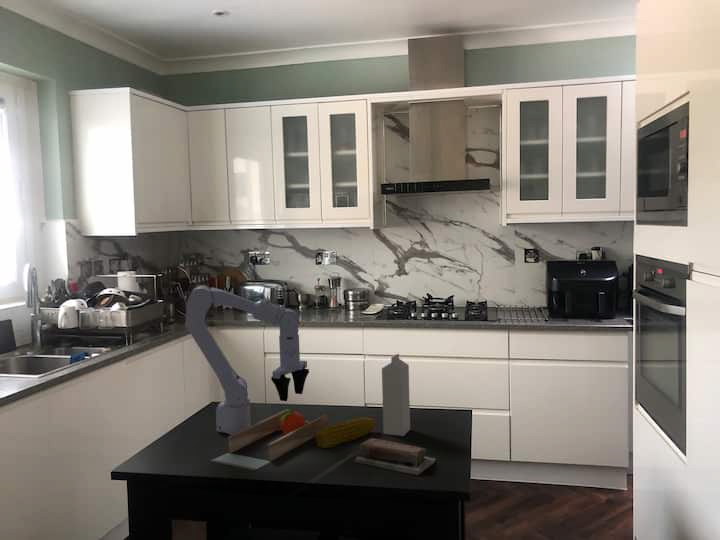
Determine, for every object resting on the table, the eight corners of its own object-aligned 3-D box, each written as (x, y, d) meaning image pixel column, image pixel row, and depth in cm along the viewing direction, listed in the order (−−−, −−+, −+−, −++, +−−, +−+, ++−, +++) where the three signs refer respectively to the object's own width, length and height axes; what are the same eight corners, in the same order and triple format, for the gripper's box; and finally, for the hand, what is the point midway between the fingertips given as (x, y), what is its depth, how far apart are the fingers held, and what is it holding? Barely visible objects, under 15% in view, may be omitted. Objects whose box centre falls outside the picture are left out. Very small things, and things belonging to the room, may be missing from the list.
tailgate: (227, 456, 168) (210, 463, 162) (227, 452, 168) (210, 460, 162) (271, 464, 161) (255, 473, 155) (271, 461, 161) (254, 469, 155)
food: (328, 454, 167) (327, 432, 167) (313, 449, 171) (312, 427, 171) (380, 432, 183) (380, 412, 182) (365, 428, 187) (365, 408, 186)
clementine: (284, 443, 176) (283, 418, 175) (273, 436, 182) (272, 412, 181) (310, 437, 180) (309, 412, 180) (299, 430, 186) (298, 406, 185)
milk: (410, 429, 184) (409, 353, 182) (403, 436, 179) (402, 358, 177) (390, 427, 187) (389, 352, 185) (382, 434, 181) (381, 356, 179)
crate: (228, 455, 168) (227, 436, 168) (287, 425, 191) (287, 408, 191) (272, 464, 161) (271, 444, 161) (327, 431, 184) (327, 414, 184)
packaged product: (353, 445, 161) (373, 433, 169) (353, 464, 161) (373, 451, 170) (418, 457, 151) (435, 444, 160) (418, 477, 152) (436, 463, 160)
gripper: (286, 357, 178) (288, 405, 179) (314, 347, 190) (316, 392, 192) (265, 355, 181) (267, 402, 182) (295, 345, 194) (297, 389, 195)
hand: (291, 397), depth 187 cm, fingers open, 7 cm apart
